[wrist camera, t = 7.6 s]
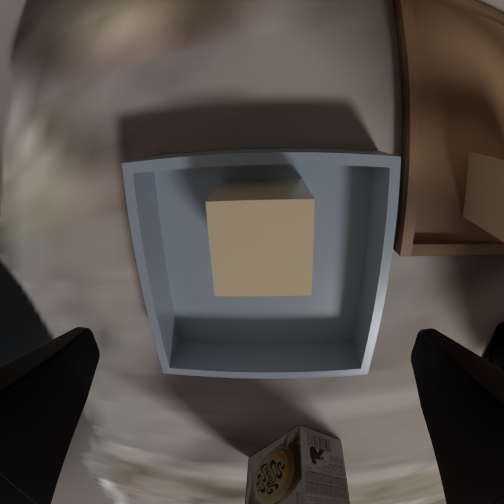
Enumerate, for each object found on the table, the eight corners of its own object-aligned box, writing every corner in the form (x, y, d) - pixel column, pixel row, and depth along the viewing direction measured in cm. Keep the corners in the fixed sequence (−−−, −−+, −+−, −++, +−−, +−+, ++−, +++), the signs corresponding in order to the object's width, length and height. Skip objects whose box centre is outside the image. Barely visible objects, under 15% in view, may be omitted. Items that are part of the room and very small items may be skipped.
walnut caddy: (530, 248, 18) (538, 253, 17) (393, 249, 19) (400, 256, 18) (536, 38, 11) (544, 37, 10) (389, -20, 12) (395, -26, 11)
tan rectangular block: (301, 250, 19) (311, 295, 14) (229, 251, 20) (214, 296, 14) (302, 178, 18) (314, 199, 12) (224, 180, 18) (205, 201, 13)
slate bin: (357, 343, 22) (367, 373, 19) (175, 343, 23) (163, 373, 20) (378, 150, 17) (400, 156, 14) (146, 156, 18) (121, 163, 15)
